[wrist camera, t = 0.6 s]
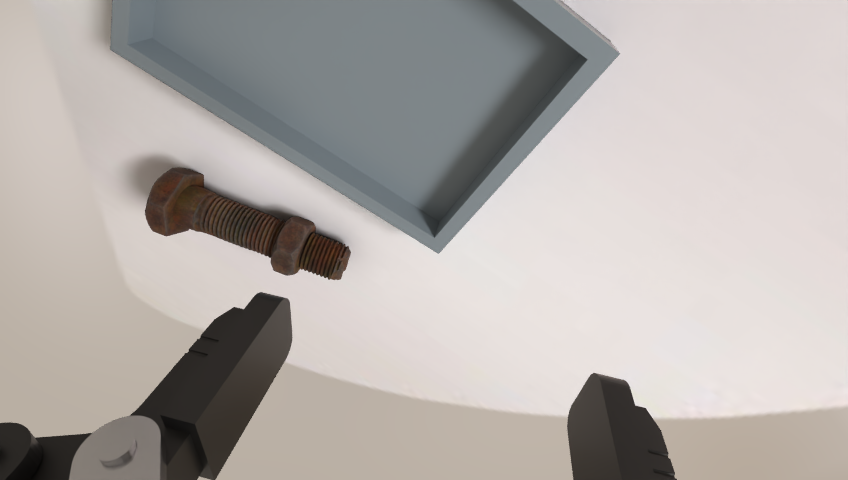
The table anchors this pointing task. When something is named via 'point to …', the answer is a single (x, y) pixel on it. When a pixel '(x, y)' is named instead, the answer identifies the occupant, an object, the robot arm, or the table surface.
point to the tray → (378, 88)
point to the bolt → (241, 226)
